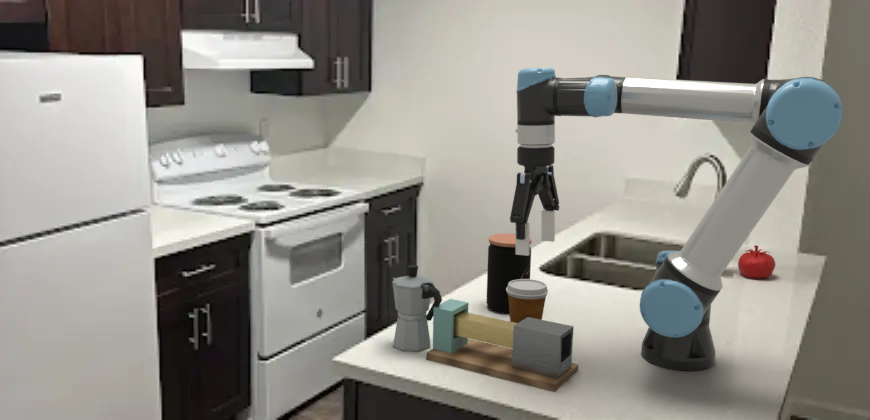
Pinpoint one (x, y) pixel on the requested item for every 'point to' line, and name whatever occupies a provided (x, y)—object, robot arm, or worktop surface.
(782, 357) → the worktop surface
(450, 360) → the board
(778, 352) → the worktop surface
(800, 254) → the worktop surface
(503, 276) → the coffee jar
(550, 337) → the sleeve
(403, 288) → the coffee maker
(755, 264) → the pomegranate
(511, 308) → the disposable coffee cup
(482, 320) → the wooden crossbeam
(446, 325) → the socket
